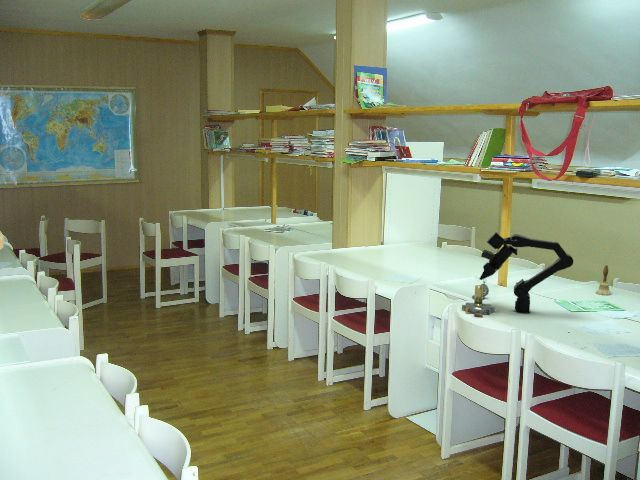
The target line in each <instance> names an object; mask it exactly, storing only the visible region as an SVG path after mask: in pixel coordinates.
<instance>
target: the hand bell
mask: <svg viewBox="0 0 640 480" xmlns="http://www.w3.org/2000/svg"><path fill="white" fill-rule="evenodd" d="M602 274H603V279H602V282H601V283H599V286H598V289H597V290H596V291H595V294H597V295H601V296H611V295H612V292H611V291H610V285H609V284H608V283H607V278H608V275H609V266H608V264H607V265H604V268H603V270H602Z"/></svg>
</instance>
